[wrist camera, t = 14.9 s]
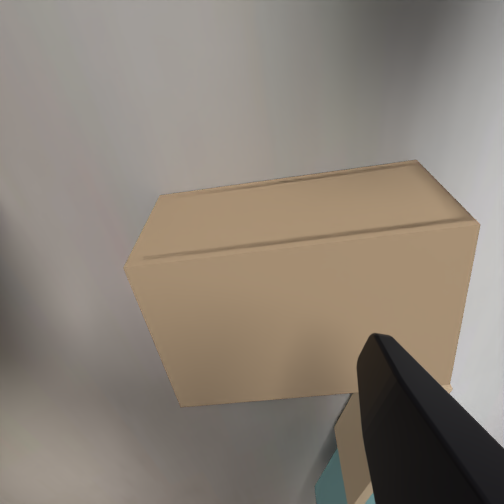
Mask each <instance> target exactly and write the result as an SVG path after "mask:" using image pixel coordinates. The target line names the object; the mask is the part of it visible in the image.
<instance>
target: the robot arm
mask: <svg viewBox="0 0 504 504" xmlns="http://www.w3.org/2000/svg"><path fill="white" fill-rule="evenodd" d="M356 369H357V381H358V393H359V404H360V416H361V427H362V436H363V442H364V448H365V453H366V458H367V463H368V468H369V473H370V478H371V484H372V489H373V494H374V499H375V504H504V448H503V447H502V446H501V445H500V444H499V443H498V442H497V441H496V440H495V439H494V438H493V437H492V436H491V435H490V434H489V433H488V432H487V431H486V430H485V429H484V428H483V427H482V426H481V425H480V424H479V423H478V422H477V421H476V420H475V419H474V418H473V417H472V416H471V415H470V414H469V413H468V412H467V411H466V410H465V409H464V408H463V407H462V406H461V405H460V404H459V403H458V402H457V401H456V400H455V399H454V398H453V397H452V396H451V395H450V394H449V393H448V392H447V391H446V390H445V389H444V388H443V387H442V386H441V385H440V384H439V383H438V382H437V381H436V380H435V379H434V378H433V377H432V376H431V375H430V374H429V373H428V372H427V371H426V370H425V369H424V368H423V367H422V366H421V365H420V364H419V363H418V362H417V361H416V360H415V359H414V358H413V357H412V356H411V355H410V354H409V353H408V352H407V351H406V350H405V349H404V348H403V347H402V346H401V345H400V344H399V343H398V342H397V341H396V340H395V339H394V338H393V337H392V336H390V335H386V334H380V333H372V334H371V335H370V336H369V337H368V339H367V341H366V343H365V345H364V347H363V349H362V351H361V353H360V355H359V357H358V360H357V366H356Z"/></svg>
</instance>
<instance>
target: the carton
mask: <svg viewBox="0 0 504 504" xmlns="http://www.w3.org/2000/svg"><path fill="white" fill-rule="evenodd" d="M479 229H480V224H479V223H478V222H477V221H476V220H475V219H474V218H473V217H472V216H471V215H470V214H469V213H468V212H467V211H466V209H465V208H464V207H463V206H462V205H461V204H460V203H459V202H458V201H457V200H456V199H455V198H454V197H453V196H452V195H451V194H450V193H449V192H448V191H447V190H446V189H445V188H444V187H443V186H442V185H441V184H440V183H439V182H438V181H437V180H436V179H435V178H434V177H433V176H432V175H431V174H430V173H429V172H428V171H427V170H426V169H425V168H424V167H423V166H422V165H421V164H420V163H419V162H418V161H417V160H412V161H404V162H397V163H390V164H383V165H376V166H368V167H361V168H354V169H347V170H339V171H332V172H325V173H318V174H311V175H303V176H296V177H289V178H282V179H275V180H267V181H260V182H253V183H246V184H238V185H231V186H224V187H217V188H210V189H202V190H195V191H188V192H181V193H173V194H166V195H160V196H159V198H158V200H157V202H156V204H155V206H154V208H153V210H152V212H151V214H150V216H149V218H148V220H147V222H146V224H145V226H144V228H143V230H142V232H141V234H140V236H139V238H138V240H137V242H136V244H135V246H134V248H133V250H132V252H131V254H130V256H129V258H128V260H127V262H126V264H125V266H124V271H125V273H126V276H127V278H128V280H129V283H130V285H131V288H132V290H133V293H134V295H135V297H136V300H137V302H138V305H139V307H140V310H141V312H142V314H143V317H144V319H145V322H146V324H147V327H148V329H149V331H150V334H151V336H152V339H153V341H154V344H155V346H156V349H157V351H158V353H159V356H160V358H161V361H162V363H163V366H164V368H165V370H166V373H167V375H168V378H169V380H170V383H171V385H172V387H173V390H174V392H175V395H176V397H177V400H178V402H179V404H180V407H191V406H203V405H215V404H227V403H239V402H251V401H263V400H275V399H287V398H298V397H310V396H322V395H334V394H346V393H358V381H357V369H356V366H357V360H358V357H359V355H360V353H361V351H362V349H363V347H364V345H365V343H366V341H367V339H368V337H369V336H370V335H371V334H372V333H380V334H386V335H390V336H392V337H393V338H394V339H395V340H396V341H397V342H398V343H399V344H400V345H401V346H402V347H403V348H404V349H405V350H406V351H407V352H408V353H409V354H410V355H411V356H412V357H413V358H414V359H415V360H416V361H417V362H418V363H419V364H420V365H421V366H422V367H423V368H424V369H425V370H426V371H427V372H428V373H429V374H430V375H431V376H432V377H433V378H434V379H435V380H436V381H437V382H438V383H439V384H440V385H450V381H451V376H452V370H453V365H454V360H455V355H456V349H457V344H458V339H459V334H460V329H461V323H462V318H463V313H464V308H465V302H466V297H467V292H468V287H469V282H470V276H471V271H472V266H473V261H474V255H475V250H476V245H477V240H478V234H479Z"/></svg>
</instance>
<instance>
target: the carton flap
mask: <svg viewBox="0 0 504 504" xmlns="http://www.w3.org/2000/svg"><path fill="white" fill-rule="evenodd" d="M441 386H442V387H443V388H444V389H445V390H446V391H447V392H448V393H450V392H451V391H452V390H453V389H452V387H451V385H441ZM334 430H335V436H336V442H337V447H338V448H337V449H336V451H335V453H334V454H333V456H332V458H331V459H330V461H329V463H328V465H327V466H326V468H325V470H324V471H323V473H322V475H321V476H320V478H319V480H318V481H317V483H316V485H315V494H316V503H317V504H375V499H374V494H373V489H372V484H371V478H370V473H369V468H368V463H367V458H366V453H365V448H364V442H363V436H362V427H361V416H360V404H359V393H353V394H352V396H351V398H350V400H349V401H348V403H347V405H346V407H345V409H344V410H343V412H342V414H341V416H340V418H339V420H338V421H337V423H336V425H335V427H334Z"/></svg>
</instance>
